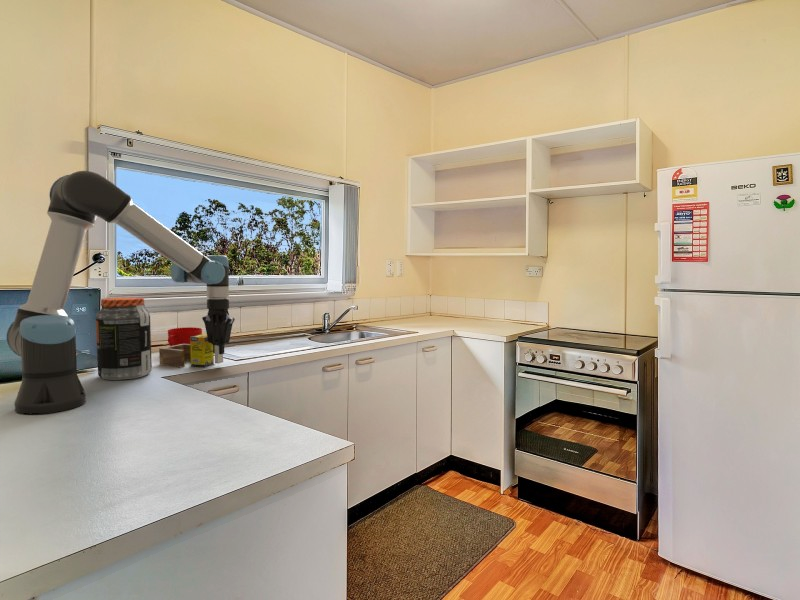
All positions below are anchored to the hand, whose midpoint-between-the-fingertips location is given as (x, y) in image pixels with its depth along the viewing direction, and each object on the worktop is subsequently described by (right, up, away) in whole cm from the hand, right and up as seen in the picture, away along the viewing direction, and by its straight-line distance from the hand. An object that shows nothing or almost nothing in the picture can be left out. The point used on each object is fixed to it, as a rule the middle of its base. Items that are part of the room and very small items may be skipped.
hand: (219, 362), depth 176 cm
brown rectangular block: (-16, -1, +6) cm, 17 cm away
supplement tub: (-26, -3, -15) cm, 30 cm away
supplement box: (-7, -2, +3) cm, 8 cm away
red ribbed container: (-23, 0, +23) cm, 33 cm away
